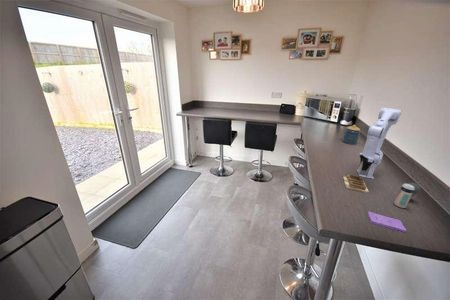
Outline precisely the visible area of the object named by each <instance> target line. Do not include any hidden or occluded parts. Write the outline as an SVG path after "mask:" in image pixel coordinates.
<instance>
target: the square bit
mask: <svg viewBox="0 0 450 300" xmlns="http://www.w3.org/2000/svg"><path fill="white" fill-rule="evenodd" d="M362 164H363V162H362V161H361V164H360V163H359V167H358V169H357V170H358V171H357V173H358V175H359V174H360V175H365V176H367V175H368V172H369V170H370V167H371V165H372V164H371V165H370V166H369V168H368V169H367V170H366V171H363V170H362Z"/></svg>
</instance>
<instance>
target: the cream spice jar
mask: <svg viewBox="0 0 450 300" xmlns="http://www.w3.org/2000/svg"><path fill="white" fill-rule="evenodd" d="M414 190H415V188H414V186H413V185H410V184H407V183H403V184H402V185H401V187H400V190H399V192H398V194H397V196H396V199H394V202H393V204H394V205H395V206H396V207H398V208H400V209H406V208H407V206H408V204H409V202H410V200H411V199H412V197H411V196H412V194H413V192H414ZM410 198H411V199H410Z"/></svg>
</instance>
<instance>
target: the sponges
mask: <svg viewBox="0 0 450 300" xmlns="http://www.w3.org/2000/svg"><path fill="white" fill-rule="evenodd" d="M367 216H368V218H369V221H370V223H371V224H372V225H377V226H380V227H384V228H387V227H388V229H390V228H391V229H392V230H394V229H395V230H394V231H398V230H399V232H401V231H402V232H401V233H406V232H407V228H406V227H405V226H404V224H403V222H402V221H401V220H400V219H396V218H394V217H389V216H386V215H382V214H378V213H375V212H372V211H367Z"/></svg>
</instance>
